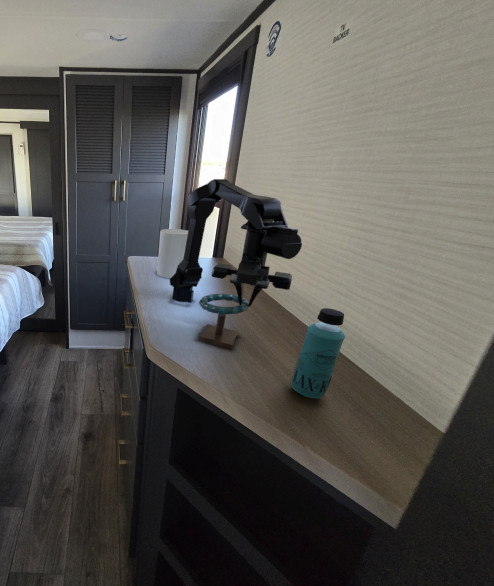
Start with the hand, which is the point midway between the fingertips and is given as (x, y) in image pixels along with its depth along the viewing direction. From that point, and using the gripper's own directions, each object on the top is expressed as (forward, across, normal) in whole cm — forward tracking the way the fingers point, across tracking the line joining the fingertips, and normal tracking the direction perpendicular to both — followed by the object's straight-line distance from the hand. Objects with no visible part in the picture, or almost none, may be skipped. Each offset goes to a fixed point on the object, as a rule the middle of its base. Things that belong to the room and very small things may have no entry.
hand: (244, 305), depth 85 cm
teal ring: (+1, -6, 0) cm, 6 cm away
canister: (+11, -38, +49) cm, 63 cm away
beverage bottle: (+11, +17, -17) cm, 26 cm away
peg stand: (+11, -5, -2) cm, 12 cm away
